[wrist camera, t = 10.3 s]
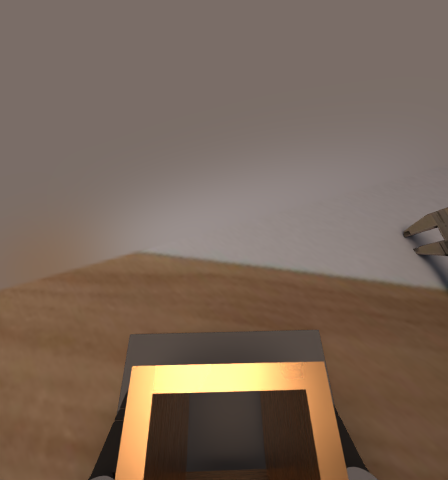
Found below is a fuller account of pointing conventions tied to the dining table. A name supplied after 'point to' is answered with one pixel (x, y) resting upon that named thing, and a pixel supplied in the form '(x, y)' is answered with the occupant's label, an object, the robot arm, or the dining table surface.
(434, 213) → the caliper
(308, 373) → the copper collar
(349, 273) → the dining table surface
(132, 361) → the slate pad
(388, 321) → the dining table surface
